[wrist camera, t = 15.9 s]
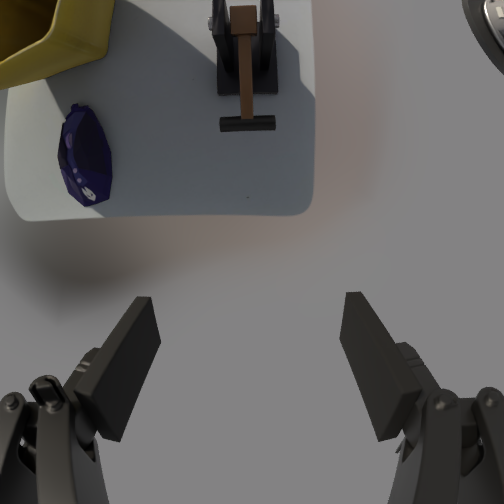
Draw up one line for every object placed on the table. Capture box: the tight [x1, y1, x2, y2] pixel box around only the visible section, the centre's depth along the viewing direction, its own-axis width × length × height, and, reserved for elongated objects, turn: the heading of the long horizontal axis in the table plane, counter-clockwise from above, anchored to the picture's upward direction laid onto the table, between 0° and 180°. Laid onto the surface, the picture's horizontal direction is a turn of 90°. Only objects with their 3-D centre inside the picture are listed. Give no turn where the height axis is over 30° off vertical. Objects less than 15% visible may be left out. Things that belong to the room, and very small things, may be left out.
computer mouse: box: [58, 103, 112, 207], centre depth 30 cm, size 9×15×4 cm, turn 10°
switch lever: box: [219, 5, 276, 132], centre depth 21 cm, size 12×5×2 cm, turn 2°
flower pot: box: [0, 0, 115, 90], centre depth 18 cm, size 19×19×17 cm
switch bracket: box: [208, 0, 279, 96], centre depth 23 cm, size 10×7×13 cm
